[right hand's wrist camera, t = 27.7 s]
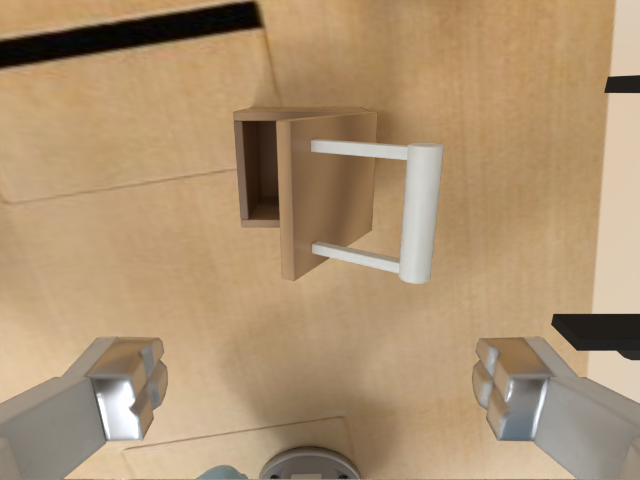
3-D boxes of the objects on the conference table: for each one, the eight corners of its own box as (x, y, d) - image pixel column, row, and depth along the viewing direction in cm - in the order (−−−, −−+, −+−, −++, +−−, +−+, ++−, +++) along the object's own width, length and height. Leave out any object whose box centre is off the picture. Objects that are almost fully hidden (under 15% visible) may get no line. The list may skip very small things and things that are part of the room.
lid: (281, 277, 26) (413, 315, 22) (275, 120, 23) (430, 127, 18) (361, 228, 36) (465, 247, 31) (366, 111, 32) (483, 115, 28)
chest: (256, 201, 44) (241, 227, 36) (251, 107, 41) (232, 111, 32) (357, 201, 44) (366, 227, 36) (360, 107, 41) (371, 111, 32)
